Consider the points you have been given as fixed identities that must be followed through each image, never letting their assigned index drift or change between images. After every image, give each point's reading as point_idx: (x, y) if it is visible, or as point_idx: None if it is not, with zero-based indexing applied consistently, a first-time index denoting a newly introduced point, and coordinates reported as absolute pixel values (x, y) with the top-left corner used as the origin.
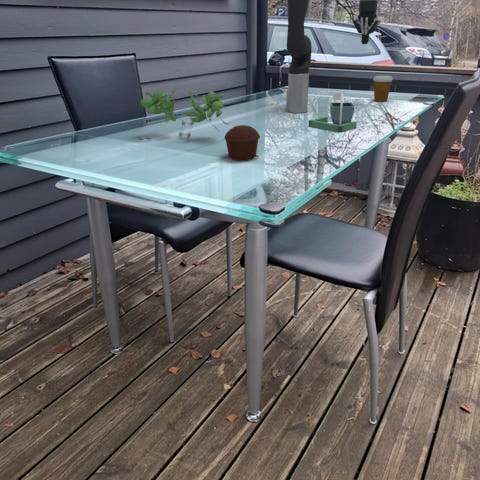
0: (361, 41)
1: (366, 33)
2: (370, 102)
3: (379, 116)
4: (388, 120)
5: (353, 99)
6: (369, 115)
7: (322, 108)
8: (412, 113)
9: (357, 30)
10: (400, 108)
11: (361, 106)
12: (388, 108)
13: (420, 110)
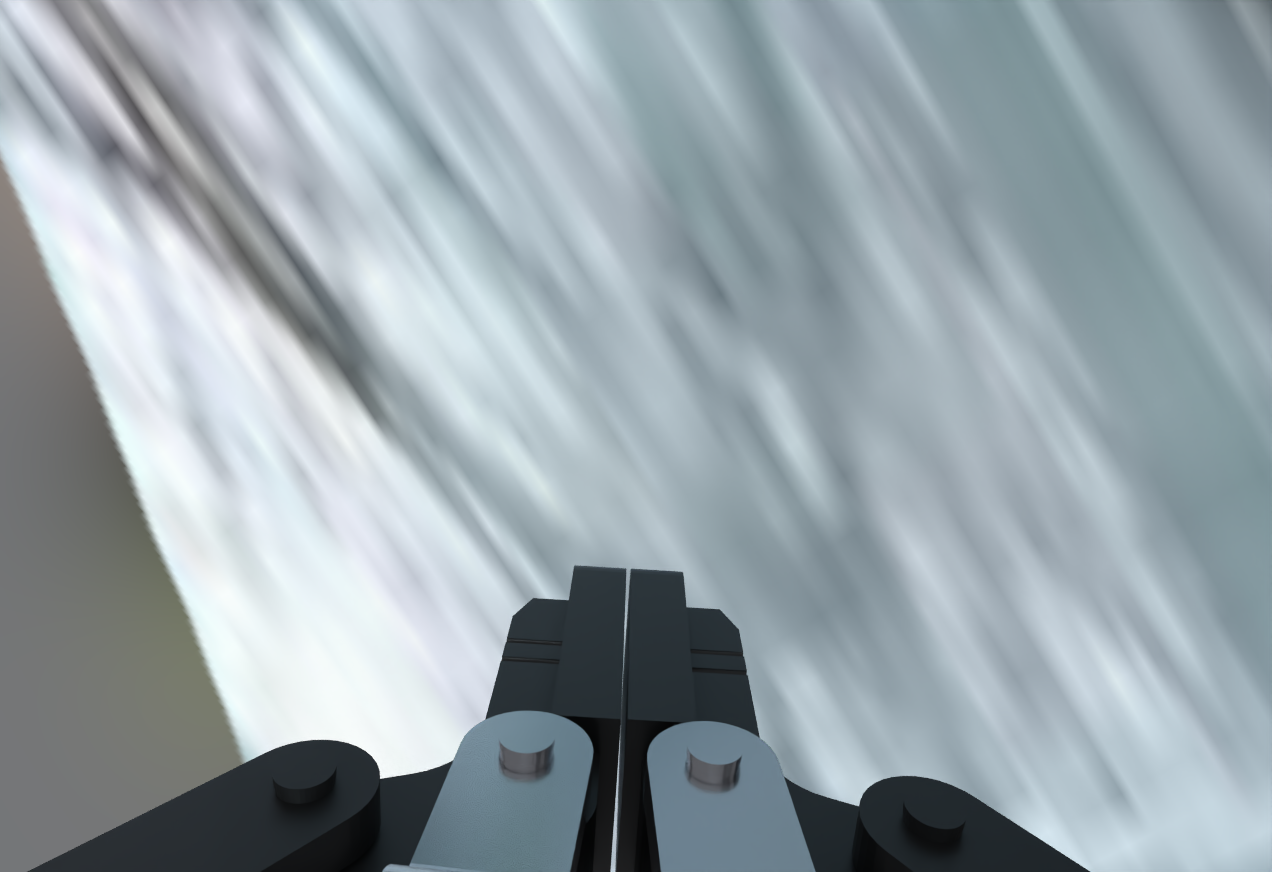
0: (729, 629)
1: (482, 740)
2: (795, 764)
3: (328, 196)
4: (139, 66)
5: (1019, 808)
6: (436, 179)
7: (1068, 208)
8: (184, 517)
9: (1055, 863)
10: (405, 662)
11: (762, 546)
12: (492, 602)
13: (215, 677)
